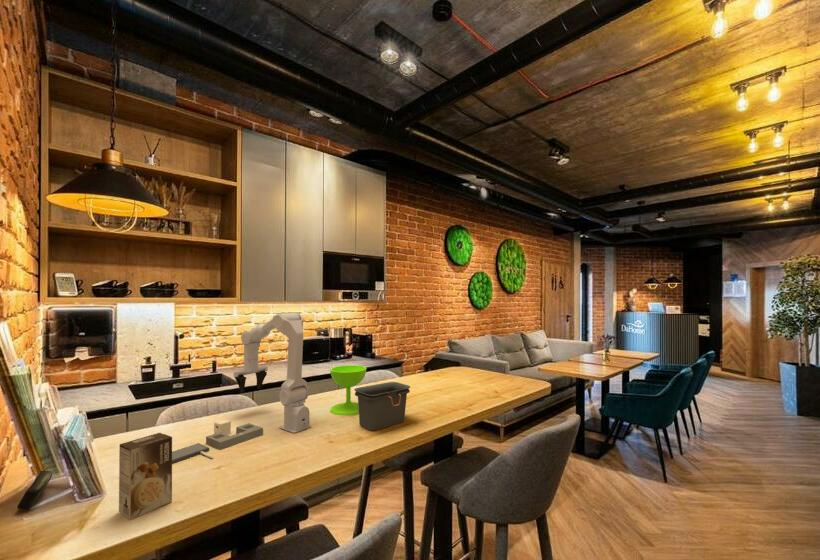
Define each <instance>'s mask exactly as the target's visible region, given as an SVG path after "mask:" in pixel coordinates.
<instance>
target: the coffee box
mask: <svg viewBox="0 0 820 560" xmlns="http://www.w3.org/2000/svg"><path fill="white" fill-rule="evenodd" d="M172 452H173V437H172V436H170V435H168V434H166V433H163V432H157V433H154V434H150V435H146V436H143V437H139V438H136V439H132V440H129V441H125V442H123V443H120V444H119V460H118V461H119V465H118V467H119V468H118V470H119V471H118V473H119V474H118V483H119V484H118V513H119V514H121V515H122V516H124V517H126V518H127V519H128V520H133V519H136V518H138V517H140V516H143V515H144V514H147V513H149V512H151V511H154V510H156V509H158V508H160V507H162V506H165V505H167V504H170V503H171V502H173V464H172Z"/></svg>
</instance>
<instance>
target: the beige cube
mask: <svg viewBox="0 0 820 560" xmlns="http://www.w3.org/2000/svg"><path fill="white" fill-rule="evenodd" d="M231 425H232V421H230V420H228V419H221V420H218V421H214V422H213V429H214V430H213V434H216V433H219V432H221V433H224V434H227V435H231V433H232V431H231V430H232V429H231Z"/></svg>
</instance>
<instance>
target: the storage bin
mask: <svg viewBox="0 0 820 560" xmlns="http://www.w3.org/2000/svg"><path fill="white" fill-rule="evenodd" d="M410 388H411V386H410V385H409V384H406V383H405V384H404V383H400V382H398V381H390V382H389V381H388V382H383V383H377V384H373V385H372V384H370V385H365V386H360V387H355V388H354V389H353V390H354V391H355V392H354V396H355V397H357V403H358V407H359V414H358V420H359V426H361V427H363V428H365V429H367V430H369V431H377V430H379V429H383V428H387V427H389V426H393V425H398V424H401V423H403V422H405V417H406V407H407V398H408V397H407V396H408V394H409V393H410V392H411V391H410Z"/></svg>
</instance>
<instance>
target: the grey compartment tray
mask: <svg viewBox="0 0 820 560" xmlns="http://www.w3.org/2000/svg"><path fill="white" fill-rule="evenodd" d="M235 432H236V433H235V434H233V435H230V434H228V435H227V434H224V433H221V432H219V433H216V434H214V433H213V434H211V435H207V436H205V444H206V445H208V446H211V447H214V448H215V449H218V450H223V449H226V448H229V447H232V446H235V445H238V444H241V443H243V442H245V441H249V440H251V439H254V438H257V437H260V436H263V435H264V427H261V426H259V425H256V424H252V423H250V422H249V423H246V424H245V423H244V424H242V425H238V426H236V431H235Z"/></svg>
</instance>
